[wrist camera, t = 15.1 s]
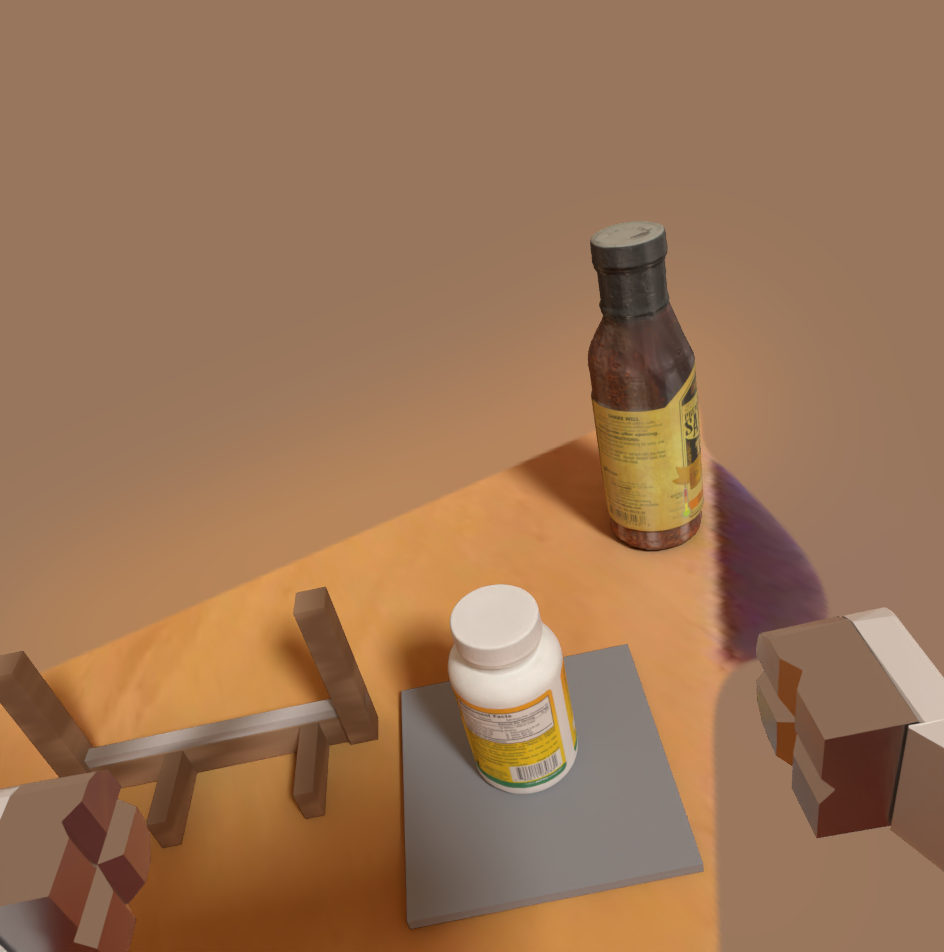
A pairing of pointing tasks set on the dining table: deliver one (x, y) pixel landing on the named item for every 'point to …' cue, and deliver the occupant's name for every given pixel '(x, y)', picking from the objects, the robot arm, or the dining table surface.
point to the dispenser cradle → (209, 729)
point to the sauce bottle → (644, 393)
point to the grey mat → (540, 805)
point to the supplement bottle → (511, 690)
